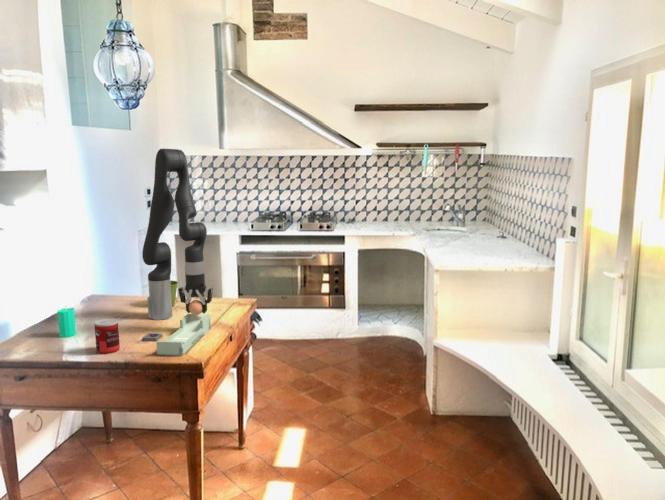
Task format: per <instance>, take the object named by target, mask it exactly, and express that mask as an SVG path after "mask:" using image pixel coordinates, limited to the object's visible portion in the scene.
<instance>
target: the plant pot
mask: <svg viewBox="0 0 665 500" xmlns="http://www.w3.org/2000/svg"><path fill="white" fill-rule="evenodd" d="M170 284H171V301H172V307H173V306H175V304H176V296H177V290H178V285H179V284H180V283H179V281H177V280H171V279H170Z"/></svg>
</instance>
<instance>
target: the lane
mask: <svg viewBox="0 0 665 500" xmlns="http://www.w3.org/2000/svg"><path fill="white" fill-rule="evenodd" d="M179 324H180V325H179V328H178V329H177V330H176V331H175V332H174V333H172V334H171V335H170V336H169V337H167V338H166V339H165V340H157V341H155V342H156V343H155V344H156V356H167V357H168V356H169V357H171V356H172V357H173V356H174V357H183V356H184V355H185V354H186V353H187V352H188V351H189V350H190V349H191V348H192V347H193V346H194V345H195V344H196V343H197V342H198V341H200V339H201V338H202V337H204V336H205V335H206V334H207V333H208V332H210V330H211V314H209V313H207V314H206V313H201V314H198V315H194V314H192V313H187V314H186V315H184V316H183V317H181V318H180V319H179Z"/></svg>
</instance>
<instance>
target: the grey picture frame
mask: <svg viewBox="0 0 665 500" xmlns="http://www.w3.org/2000/svg"><path fill="white" fill-rule="evenodd" d="M162 337H163V333H158V332H157V333H156V332H151V333H150V332H148V333H146V334H145V335H144V336H143V337H142V342H157V341H160V339H161V338H162Z"/></svg>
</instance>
